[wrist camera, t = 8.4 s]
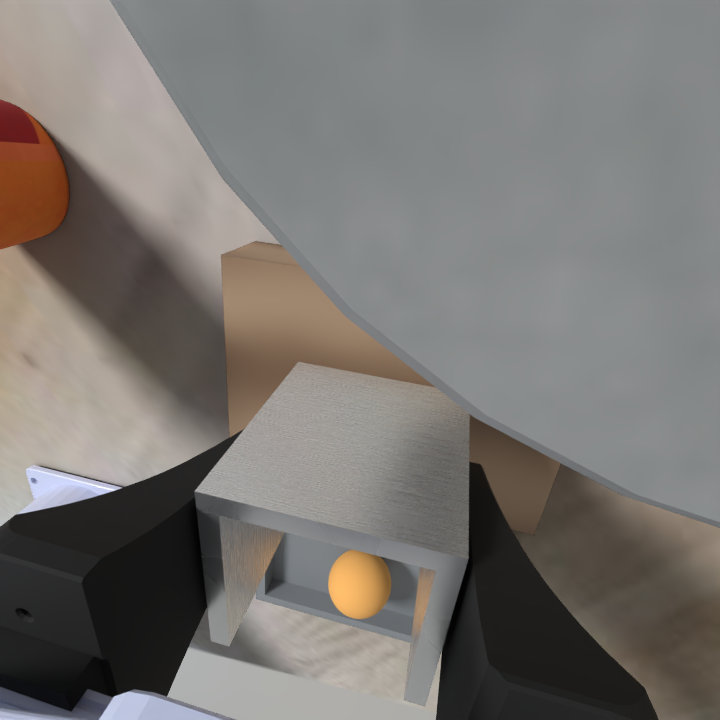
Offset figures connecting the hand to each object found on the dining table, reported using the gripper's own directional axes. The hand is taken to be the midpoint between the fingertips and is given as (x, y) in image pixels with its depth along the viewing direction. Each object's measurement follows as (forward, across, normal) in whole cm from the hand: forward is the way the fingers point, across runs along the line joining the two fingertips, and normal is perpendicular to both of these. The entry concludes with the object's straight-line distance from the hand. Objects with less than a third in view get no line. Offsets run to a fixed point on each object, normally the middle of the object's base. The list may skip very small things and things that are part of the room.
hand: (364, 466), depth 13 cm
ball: (+6, 0, +12) cm, 14 cm away
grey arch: (+2, 0, 0) cm, 2 cm away
